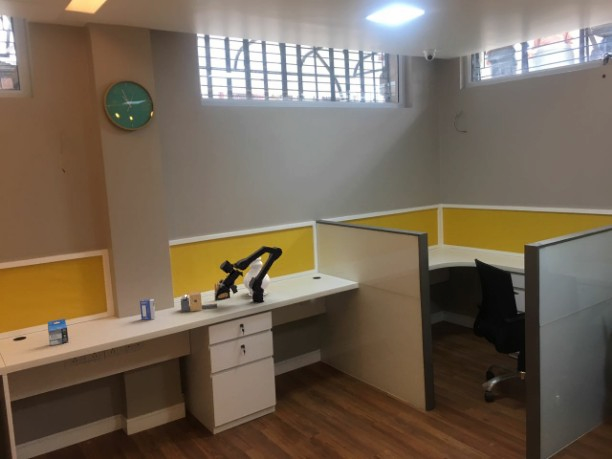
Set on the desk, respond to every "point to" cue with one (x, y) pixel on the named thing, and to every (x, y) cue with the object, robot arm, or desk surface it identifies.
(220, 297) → the ammunition clip
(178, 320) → the desk surface
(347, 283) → the desk surface
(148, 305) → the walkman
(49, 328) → the label tape cartridge
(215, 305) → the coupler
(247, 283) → the decorative vase
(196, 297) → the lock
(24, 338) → the desk surface
